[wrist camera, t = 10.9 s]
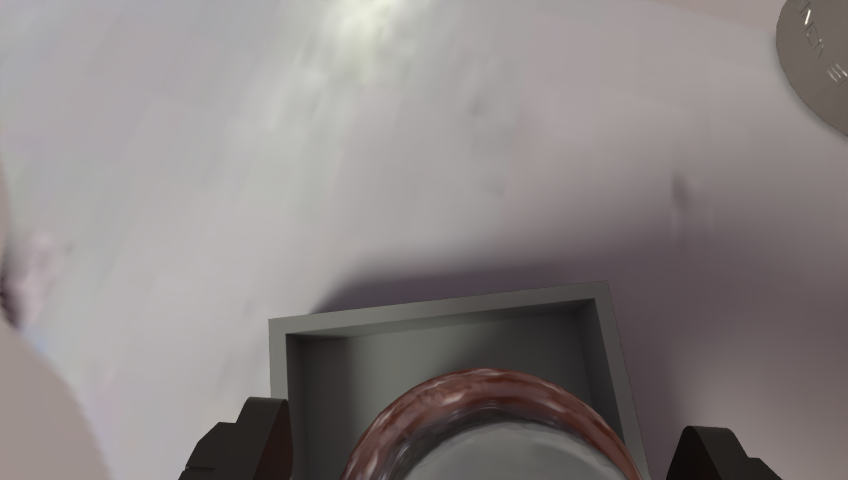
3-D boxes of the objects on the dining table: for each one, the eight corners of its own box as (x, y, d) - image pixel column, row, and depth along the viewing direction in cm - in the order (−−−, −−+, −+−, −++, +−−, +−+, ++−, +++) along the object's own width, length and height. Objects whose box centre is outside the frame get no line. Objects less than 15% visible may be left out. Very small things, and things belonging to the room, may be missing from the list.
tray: (581, 299, 20) (606, 280, 17) (649, 635, 17) (694, 681, 14) (291, 332, 20) (268, 319, 17) (306, 682, 17) (281, 737, 14)
